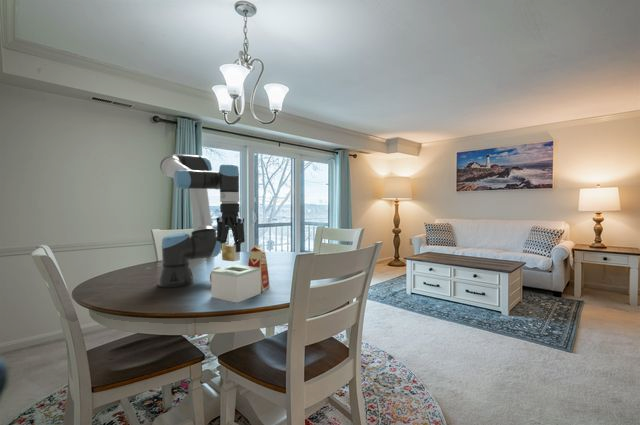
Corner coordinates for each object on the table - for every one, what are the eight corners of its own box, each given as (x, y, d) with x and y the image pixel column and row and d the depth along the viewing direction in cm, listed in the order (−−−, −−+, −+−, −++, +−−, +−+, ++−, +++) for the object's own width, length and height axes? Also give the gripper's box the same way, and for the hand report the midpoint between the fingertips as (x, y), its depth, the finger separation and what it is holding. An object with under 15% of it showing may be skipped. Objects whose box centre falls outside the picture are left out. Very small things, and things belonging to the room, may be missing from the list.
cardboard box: (222, 260, 136) (222, 245, 136) (228, 259, 139) (227, 244, 139) (233, 261, 133) (232, 246, 133) (238, 260, 136) (238, 245, 136)
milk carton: (263, 291, 144) (262, 245, 143) (243, 290, 146) (242, 244, 145) (270, 285, 153) (270, 242, 152) (251, 284, 155) (251, 242, 154)
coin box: (211, 297, 136) (211, 270, 135) (236, 288, 148) (235, 264, 147) (237, 302, 129) (237, 274, 128) (260, 293, 141) (260, 267, 140)
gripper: (206, 203, 137) (207, 258, 138) (240, 202, 127) (241, 263, 128) (220, 202, 144) (221, 256, 144) (253, 202, 134) (254, 260, 135)
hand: (230, 259), depth 136 cm, fingers closed on cardboard box, 6 cm apart
